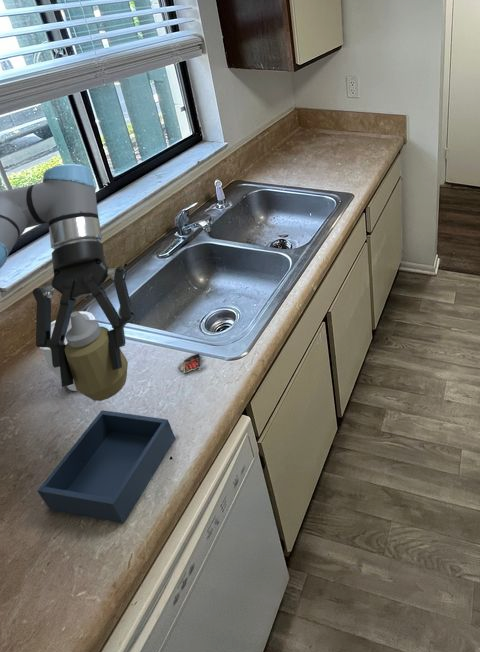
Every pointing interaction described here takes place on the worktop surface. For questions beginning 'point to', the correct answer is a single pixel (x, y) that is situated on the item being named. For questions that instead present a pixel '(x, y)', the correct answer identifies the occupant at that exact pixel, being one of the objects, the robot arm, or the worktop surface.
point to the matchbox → (191, 363)
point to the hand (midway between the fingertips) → (93, 376)
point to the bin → (108, 466)
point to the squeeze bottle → (93, 359)
